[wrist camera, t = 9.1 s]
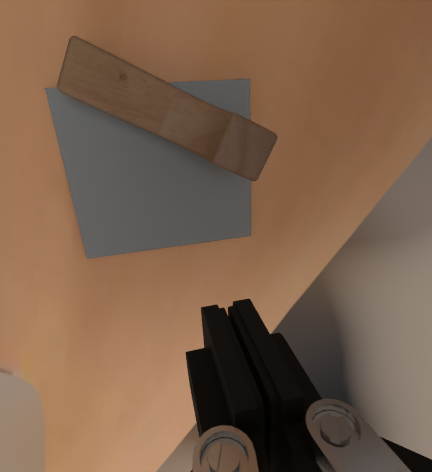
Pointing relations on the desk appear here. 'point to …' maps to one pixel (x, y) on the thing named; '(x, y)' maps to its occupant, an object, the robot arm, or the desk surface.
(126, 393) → the desk surface
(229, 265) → the desk surface
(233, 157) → the wooden block
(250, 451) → the robot arm
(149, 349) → the desk surface
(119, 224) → the mat
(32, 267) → the desk surface
